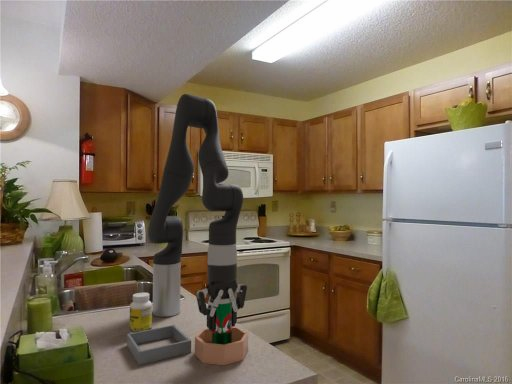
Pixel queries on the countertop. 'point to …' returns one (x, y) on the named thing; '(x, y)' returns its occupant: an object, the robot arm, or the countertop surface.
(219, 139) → the robot arm
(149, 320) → the pill bottle
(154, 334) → the grey square frame
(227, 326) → the soda can
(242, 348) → the bowl
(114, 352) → the countertop surface
